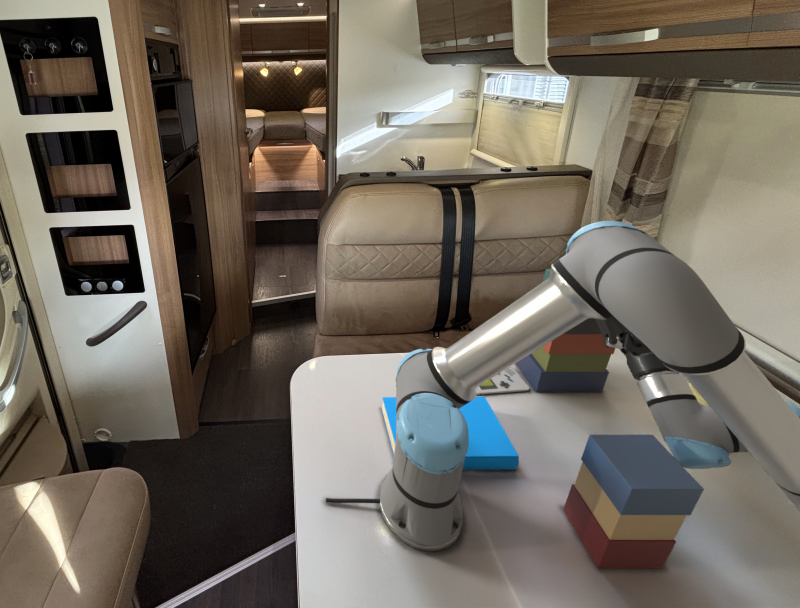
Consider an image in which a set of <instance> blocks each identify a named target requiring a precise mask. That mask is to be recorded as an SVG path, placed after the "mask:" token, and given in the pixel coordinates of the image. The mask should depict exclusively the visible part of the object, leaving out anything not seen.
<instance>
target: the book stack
mask: <svg viewBox="0 0 800 608" xmlns="http://www.w3.org/2000/svg"><path fill="white" fill-rule="evenodd" d="M550 273H551V268H545V272H544V276H543V280H542V282H544V281H545V280H547V279H548V278H549V277H550ZM614 330H615V329H614ZM615 332H616V330H615ZM617 337H618V336H617ZM615 352H616V348H614V347H610V348H606V347H605V346H604V339H603V335H602V333H601V331H600V329H599V327H598V325H597V322H596V320H595V319H594V318H589V319H586V320H584V321H583V322H581V323H580V324H578V325H576V326H575V327H573V328H572V329H570V330H568V331H567V332H565V333H564V334H562V335H560V336H559V337H557V338H555V339H554V340H552V341H551V342H549V343H547V344H546V345H544V346H543V347H541V348H539V349H538V350H536V351H535V352H533V353H531V354H530V355H528V356H526V357H525V358H523V359H522V360H520V361H518V362H517V363H515V365H516V366H517V368H518V369H519V370H520V372H521V373H522V375H523V376H524V378H526V380H527V382H528V384H530V385H531V387H532V388H533V390H534V392H535V393H602V392H603V391H604V388H605V386H606V382H607V379H608V376H609V374H610V371H609V370H608V369H607V368H608V365H609V362H610V360H611V356H612V355H614V353H615Z"/></svg>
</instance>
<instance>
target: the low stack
mask: <svg viewBox="0 0 800 608" xmlns="http://www.w3.org/2000/svg"><path fill="white" fill-rule="evenodd" d="M580 460H581V461H582V462H581V465H580V468H579V470H578V473H577V476H576V479H575V482H574V483H573V484H571V485H570V488H569V491H568V494H567V497H566V500H565V503H564V505H563V509H562V510H563V512H564V514H565V516H566V517H567V519H568V521H569V522H570V523H571V526H572V527H573V528H574V531H575V532H576V534H577V535H578V537H579V539H580V540H581V542H582V544H583V545H584V547H585V549H586V550H587V552H588V554H589V556H590V557H591V559H592V561H593V562H594V564H595V566H596V567H597V568H598V569H663V568H664V566H665V565H666V563H667V561H668V559H669V558H670V555H671V553H672V552H673V549H674V547H675V546H676V544H677V541H676V538H677V537H676V536H677V535H678V533H679V531H680V529H681V527H682V526H683V523H684V521H685V520H686V518H687V516H691V515H692V513H693V511H694V510H695V508H696V506H697V504H698V502H699V500H700V498H701V496H702V494H703V493H704V491H705V488H704V487H703V486H702V485H701V484H700V483H699V482H698V481H697V480H696V478H694V477H693V475H692V474H690V472H689V471H688V470H687V468H684V467H683V466H682V465H681V464H680V463H679V462H678V461H677V460H676V459H675V458H674V456H673V455H672V453H671V452H670V450H669V449H667V448H666V447H665V446H664V445H663V444H662V443H661V442H660V441H659V439H658V438H656V436H654V434H589V435H588V438H587V441H586V444H585V446H584V449H583V453H582V455H581V458H580Z"/></svg>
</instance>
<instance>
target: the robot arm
mask: <svg viewBox="0 0 800 608" xmlns="http://www.w3.org/2000/svg"><path fill="white" fill-rule="evenodd" d="M550 269H551V273H550V277H549V278H548V279H547V280H545V281H544V282H543V281H542V282H541V283H540V284H538V285H537V286H536V287H534V288H532V289H531V290H530V291H528V292H526V293H525V294H523V295H522V296H521V297H519V298H518V299H515V300H514V301H513V302H512V303H510V305H508V306H506V307H505V308H504V309H502V310H501V311H499V312H498V313H497V314H495V315H493V316H492V317H491V318H489V319H487V320H486V321H485V322H483V323H481V324H480V325H479V326H477V327H476V328H475V329H473V330H472V331H471V332H469V333H467V334H466V335H464V336H463V337H462V338H459V340H458V341H456V342H455V343H453V344H452V345H450V346H448V347H447V348H446V347H443V346H435V347H433V348H426V349H423V348H418V349H415V350H411V351H410V352H408V353H407V354H406V355H405V356H404V357H402V359H401V361H400V363H399V365H398V367H397V372H396V376H395V387H396V389H395V390H396V391H395V393H396V396H395V397H396V444H395V453H394V455H393V461H392V468H391V469H390V470H389V472H387V474H386V476H385V477H384V479H383V480H382V483H381V485H380V490H379V495H378V497H379V498H334V497H333V498H329V497H325V503H331V504H379V510H380V513H381V516H382V519H383V522H384V523H385V524H386V526H387V527H388V529H389V530H390V531H391V533H392V534H393V535H394V536H395V537H396V538H397V539H399V540H400V541H401V542H403V543H404V544H406V545H407V546H409V547H412V548H413V549H416V550H419V551H423V552H424V551H425V552H439V551H443V550H446V549H448V548H450V547H451V546H453V544H455V543H456V541H457V540H458V538H459V537H460V535H461V532H462V528H463V524H464V523H463V522H464V511H463V505H462V502H461V501H462V500H461V498H460V494H459V487H460V483H461V480H462V479H461V478H462V475H463V470H462V469H463V465H464V460H465V457H466V454H467V451H468V445H469V432H468V426H467V422H466V419H465V418H464V416H463V414H462V412H461V411H460V410H459V409H460V408H461V407H463V406H464V405H466V404H467V403H469V402H471V401H473V400H474V399H475V397H477V394H476V388H477V387H478V386H480V385H481V384H483V383H485V382H486V381H488V380H489V379H491V378H493V377H494V376H496V375H497V374H499V373H501V372H502V371H504V370H506V369H507V368H509V367H512V366H514V365H516V363H517V362H518V361H520V360H522V359H523V358H525V357H526V356H528V355H530V354H531V353H533V352H535V351H536V350H538V349H539V348H541V347H543V346H544V345H546V344H547V343H549V342H551V341H552V340H554V339H555V338H557V337H559V336H560V335H562V334H564V333H565V332H567V331H568V330H570V329H572V328H573V327H575V326H576V325H578V324H580V323H581V322H583V321H584V320H586V319H589V318H594V319H595V320H596V322H597V325H598V327H599V329H600V331H601V333H602V335H603V339H604V346H605V347H606V348H610V347H614V348H615V349H617V350H619V351H620V352H621V353H622V354H623V355H624V356H625V358H626V365H627V367H628V370H629V371H630V373H631V375H632V377H633V379H634V380H636V381H637V382H636V385H637V387H638V389H639V391H640V392H641V395H642V397H643V399H644V401H645V404H646V406H647V407H648V409H649V411H650V413H651V415H652V417H653V419H654V422H655V424H656V426H657V428H658V431H659V432H660V434H661V436H662V437H661V438H662V440H663V442H664V443H665V444H666V445H667V448H668V450H669V452H670V454H671V455H672V456H673V457H674V458H675V459H676V460H677V461H678V462H679V463H680V464H681V465H682V466H683V467H684V468H685V469H688V470H707V469H709V470H710V469H717V468H725V467H728V466H730V465H731V464H732V459H731V457H730V454H733V453H749V454H750V455H751V456H752V458H753V459H755V461H756V462H757V463H758V464H759V466H761V468H762V470H764V471H765V473H766V474H767V475H768V477H770V478H771V479H772V481H773V482H774V483H775V485H777V487H778V488H779V489H780V490H781V491H782V493H783V494H784V495H785V496H786V497H787V498H788V500H789V501H790V502H791V503H792V504H793V505H794V507H795V508H796V509H797V511H799V512H800V408H799V407H798V406H797V405H795V404H793V403H792V402H789V401H787V400H785V399H784V397H783V396H782V395H781V394H780V393H779V391H778V390H777V389H776V387H774V386H773V384H772V383H771V382H770V381H769V380H768V377H766V375H764V373H763V372H762V371H761V370H760V369H759V367H758V366H757V365H756V364H755V362H754V361H753V359H752V358H750V356H749V355H748V354H747V352H745V351H746V347H747V342H746V339H745V337H744V335H743V333H742V332H741V331H740V330H739V329H738V327H737V326H736V324H735V323H734V321H732V319H731V318H730V317H729V315H728V314H727V312H726V310H724V308H723V307H722V305H721V304H720V303H719V302H718V300H717V299H716V297H715V295H713V293H712V291H711V290H710V289H709V288H708V286H707V285H706V284H705V281H704V280H703V279H702V278H701V277H700V276H699V275H698V273H696V271H695V270H694V269H693V268H692V267H691V266H690V265H689V264H688V263H687V262H686V261H684V260H683V259H681V258H679V257H678V256H676V255H675V254H674V253H672V252H671V251H670V250H668V249H667V248H666V247H665V246H664V245H662V244H661V243H660V242H659V241H657V240H656V239H655V238H654V237H653V236H652V235H650V234H648V232H646V231H644V230H641V229H639V228H638V227H636V226H634V225H632V224H631V223H628V222H623V221H619V220H601V221H596V222H593V223H590V224H587V225H585V226H582V227H580V229H578V230H577V231H576V232H575V233H573V234H572V235H571V237H570V238H569V240H568V241H567V246H566V249H565V254H564V255H563V256H562V257H560V258H559V259H557V260H556V261H555V262H554V263H551V265H550ZM614 329H615V330H616V332H615V330H614ZM617 336H618V337H617ZM689 383H690V384H691V385H692V386H693V387H694V388H695V390H696V391H697V392H698V393H699V394H700V395H701V397H702V398H703V399H704V400H705V401H706V402H707V404H708V405H709V406H703V407H702V406H701V405H700V404H699V403H698V401H697V399H696V397H695V396H694V394H693V392H692V390H691V388H690V386H689Z"/></svg>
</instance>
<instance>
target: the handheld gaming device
mask: <svg viewBox="0 0 800 608" xmlns="http://www.w3.org/2000/svg"><path fill="white" fill-rule="evenodd" d="M529 390H530V386H529V385H528V384H527V383H526V381H525V380H524V379H523V378H522V376H520V374H519V373H518V372H517V371H516V370H515V368H513V367H512V366H510V367H509V368H507V369H506V370H504V371H502V372H501V373H499V374H497V375H496V376H494V377H493V378H491V379H489V380H488V381H486V382H485V383H483V384H481V385H480V386H478V387H477V388H476V396H477V395H478V396H479V395H490V394H491V395H492V394H503V393H517V392H519V393H520V392H528V391H529Z"/></svg>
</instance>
